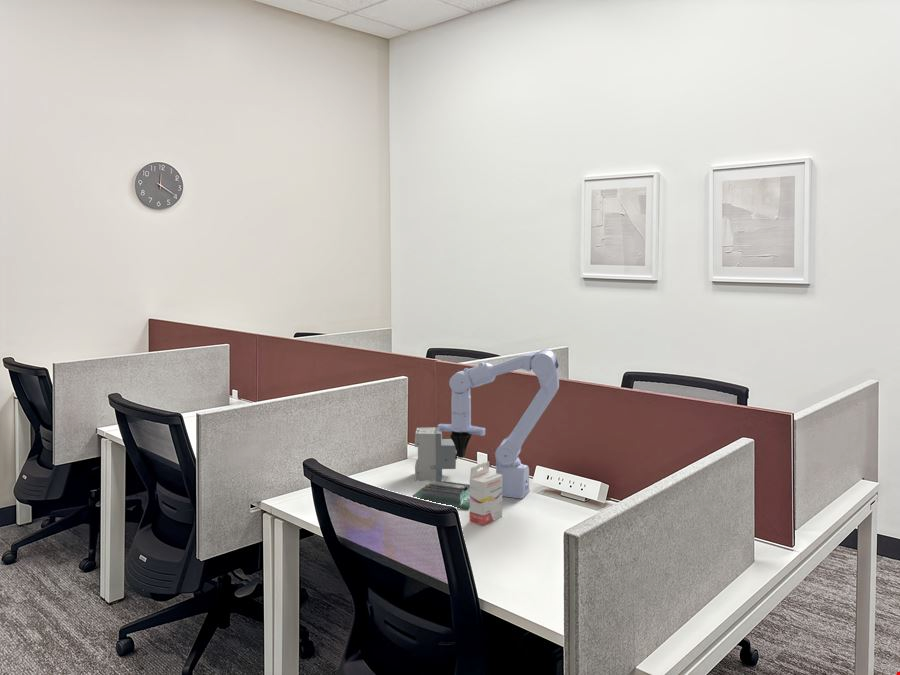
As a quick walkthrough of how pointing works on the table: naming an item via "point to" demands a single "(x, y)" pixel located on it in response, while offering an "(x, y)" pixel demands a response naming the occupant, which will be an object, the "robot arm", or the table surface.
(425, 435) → the circuit breaker
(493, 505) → the ink cartridge box
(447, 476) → the table surface
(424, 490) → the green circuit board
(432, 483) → the grey flat bar
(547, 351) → the robot arm
